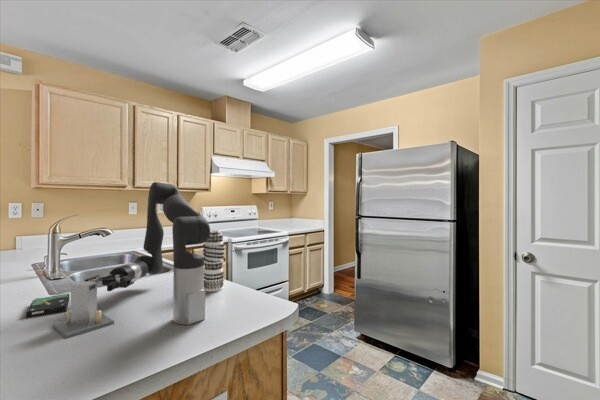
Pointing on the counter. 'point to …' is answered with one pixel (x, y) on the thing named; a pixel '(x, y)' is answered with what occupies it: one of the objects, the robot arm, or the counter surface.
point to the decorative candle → (213, 261)
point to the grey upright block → (83, 302)
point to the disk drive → (48, 305)
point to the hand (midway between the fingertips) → (95, 288)
